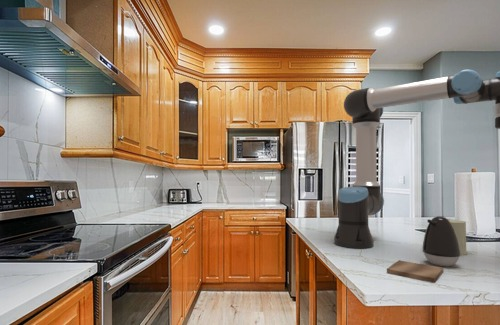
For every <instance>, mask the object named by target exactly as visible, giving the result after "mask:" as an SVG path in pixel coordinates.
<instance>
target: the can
mask: <svg viewBox="0 0 500 325" xmlns="http://www.w3.org/2000/svg"><path fill="white" fill-rule="evenodd" d="M447 219H448V220H449V221H450V223H451V224H452V226H453V228H454V230H455V233H456V235H457V238H458V242H459V247H460V256H464V255H467V254H468V251H467V221H466V220H459V219H452V218H447Z"/></svg>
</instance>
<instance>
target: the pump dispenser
mask: <svg viewBox="0 0 500 325" xmlns="http://www.w3.org/2000/svg"><path fill="white" fill-rule="evenodd" d="M448 219H449V218H446V217H445V216H442V215H441V216H439V215H438V216H435V217H433V218H432V219H427V223H428V224H427V226H426V230H425V233H424V236H423V240H422V241H423V242H422V252H423V254H424V256H425V259H426V260H427V261H428V262H429V263H431V264H433V265H434V266H437V267H452V266H454V265H456V264H457V263H458V261H459V258H460V256H461V255H460V247H459V242H458V238H457V235H456V233H455V230H454V228H453V226H452V224H451V223H450V221H449V220H448Z"/></svg>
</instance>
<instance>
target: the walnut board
mask: <svg viewBox="0 0 500 325" xmlns="http://www.w3.org/2000/svg"><path fill="white" fill-rule="evenodd" d="M386 273H387V274H391V275H395V276H400V277H404V278H410V279H415V280H419V281H424V282H429V283H433V284H435V283H436V282H437V281H438V280H439V278H440V277H441V276H442V275H443V273H444V267H442V266H436V265H429V264H422V263H417V262H412V261H406V260H400V259H398V260H397V261H395V263H393V264H391V265H390V266H389V267H387V268H386Z"/></svg>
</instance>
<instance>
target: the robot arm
mask: <svg viewBox="0 0 500 325" xmlns="http://www.w3.org/2000/svg"><path fill="white" fill-rule="evenodd" d="M446 99H452V100H453V101H454V103H455V104H456V105H464V104H465V105H467V104H472V103H473V104H474V103H480V102H492V101H495V102H494V104H495V105H494V116H495V119H494V128H495V129H498V130H500V70H499V71H497V72H496V74H495V77H494V78H493V77H492V78H489V79H483V78H482V76H481V75H480V74H479V73H478V72H477V71H475V70H473V69H463V70H461V71H460V70H459V72H457V73H456V74H453V75H448V76H442V77H438V78H437V77H435V78H431V79H426V80H421V81H414V82H407V83H402V84H397V85H396V84H395V85H391V86H386V87H379V88H376V89H375V88H373V87H372V86H371V87H367V88H361V89H360V88H359V89H356V90H353V91H351V92H349V93H348V94H347V96H345V98H344V102H343V109H344V111H345V113H346V114H347V115H348V116H349V117H351V118H352V121H351V122H352V123H351V124H352V126H353V127H354V128H355V182H354V183H352V186H346V187H342V188H339V190H338V193H337V194H338V195H337V200H338V202H337V208H338V226H337V228H336V232H335V235H334V237H333V238H334V239H333V240H334V242H333V243H334V244H335V245H337V246H340V247H342V248H343V247H344V248H350V249H369V248H370V249H371V248H373V247H374V238H373V236H372V233H371V230H370V227H369V216H374V215H376V214H378V213H379V212H381V211H382V209H383V208H384V205H385V198H384V195H383V194H382V193H381V184H379V182H378V181H377V180H378V179H377V177H378V176H377V175H378V174H377V173H378V172H377V171H378V170H377V168H378V167H377V128H378V127H379V125H380V124H381V117H382V116H383V113H384V108H387V107H396V106H404V105H409V104H410V105H411V104H417V103H423V102H431V101H437V100H438V101H439V100H446Z"/></svg>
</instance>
